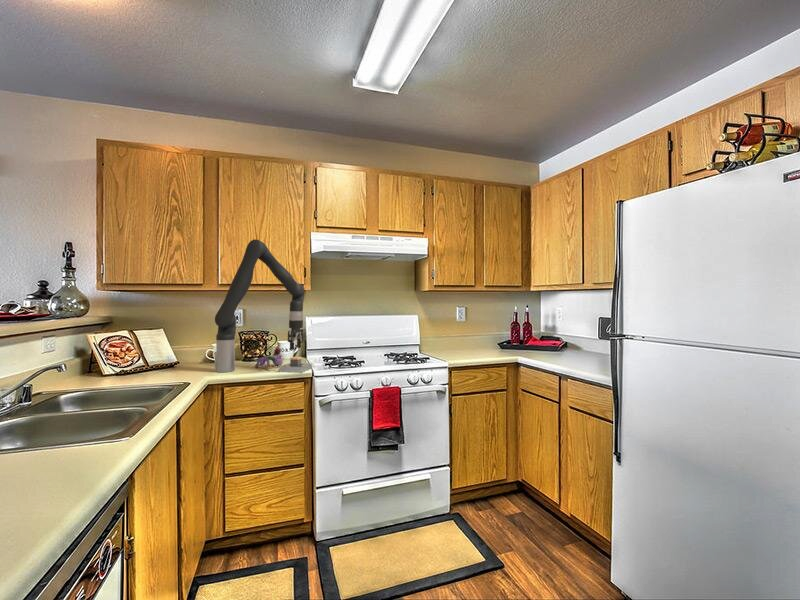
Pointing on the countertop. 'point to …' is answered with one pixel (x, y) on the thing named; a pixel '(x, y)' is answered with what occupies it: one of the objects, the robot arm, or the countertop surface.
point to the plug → (295, 361)
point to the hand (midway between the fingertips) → (295, 348)
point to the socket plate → (295, 368)
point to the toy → (275, 358)
